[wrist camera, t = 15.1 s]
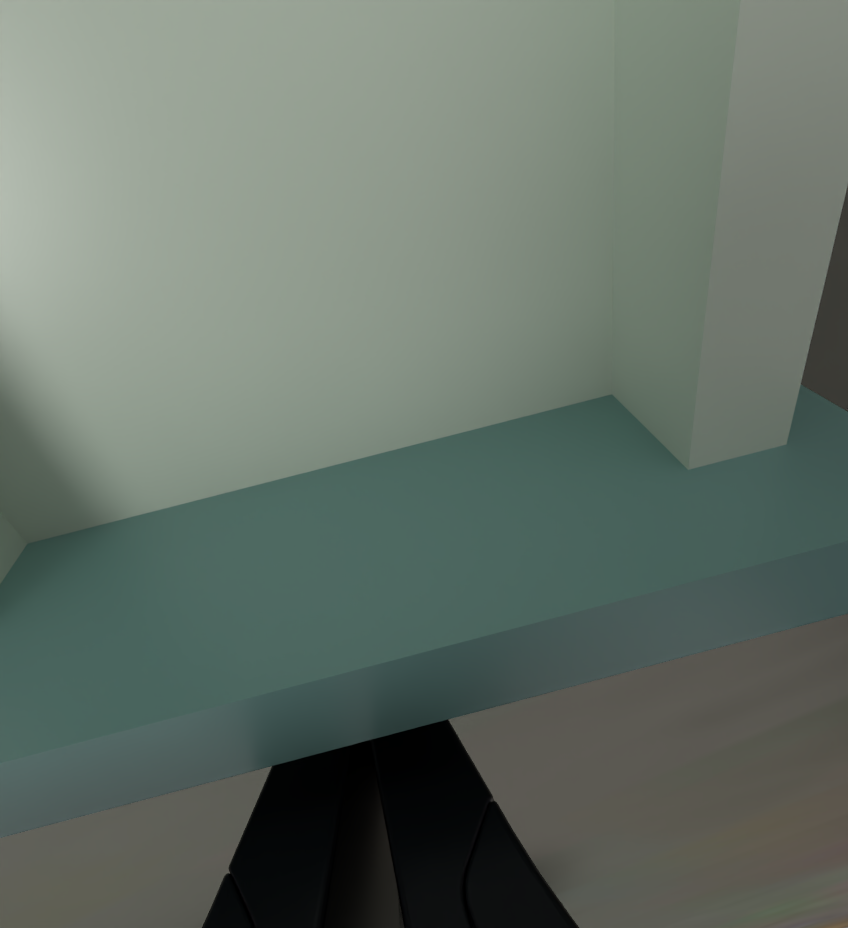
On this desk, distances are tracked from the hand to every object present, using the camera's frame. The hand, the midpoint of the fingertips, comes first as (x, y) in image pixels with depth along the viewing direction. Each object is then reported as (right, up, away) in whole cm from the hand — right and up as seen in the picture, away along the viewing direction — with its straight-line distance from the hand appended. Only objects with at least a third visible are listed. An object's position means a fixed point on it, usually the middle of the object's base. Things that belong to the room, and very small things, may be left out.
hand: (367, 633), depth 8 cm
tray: (-3, +11, -4) cm, 12 cm away
